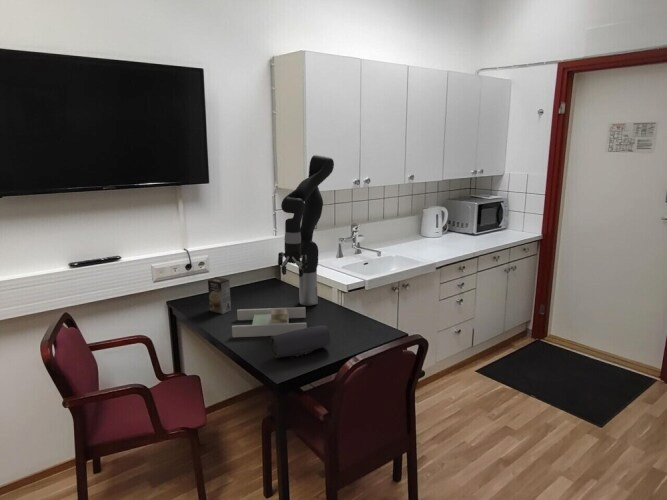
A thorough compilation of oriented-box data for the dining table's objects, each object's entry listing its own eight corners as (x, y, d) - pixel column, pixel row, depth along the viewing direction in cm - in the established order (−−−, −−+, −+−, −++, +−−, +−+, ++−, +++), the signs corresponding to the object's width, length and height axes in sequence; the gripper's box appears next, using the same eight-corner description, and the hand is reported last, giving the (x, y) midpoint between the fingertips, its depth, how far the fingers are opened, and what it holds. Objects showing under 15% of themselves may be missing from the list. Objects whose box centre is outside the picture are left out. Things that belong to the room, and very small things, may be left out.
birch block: (287, 317, 214) (287, 309, 213) (287, 322, 209) (286, 313, 208) (272, 317, 214) (271, 309, 213) (271, 322, 208) (271, 314, 207)
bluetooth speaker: (320, 342, 195) (320, 320, 192) (331, 351, 187) (331, 328, 184) (269, 355, 184) (268, 331, 182) (278, 365, 176) (277, 340, 174)
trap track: (305, 316, 223) (305, 306, 221) (306, 334, 203) (306, 323, 202) (237, 319, 220) (237, 309, 219) (232, 337, 201) (231, 326, 199)
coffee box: (209, 310, 231) (206, 280, 227) (218, 306, 237) (216, 276, 233) (222, 314, 227) (220, 282, 223) (231, 310, 232) (229, 279, 228)
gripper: (310, 241, 214) (309, 275, 217) (283, 238, 219) (282, 271, 223) (303, 244, 207) (302, 279, 210) (275, 241, 212) (275, 275, 216)
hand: (292, 275), depth 216 cm, fingers open, 8 cm apart
